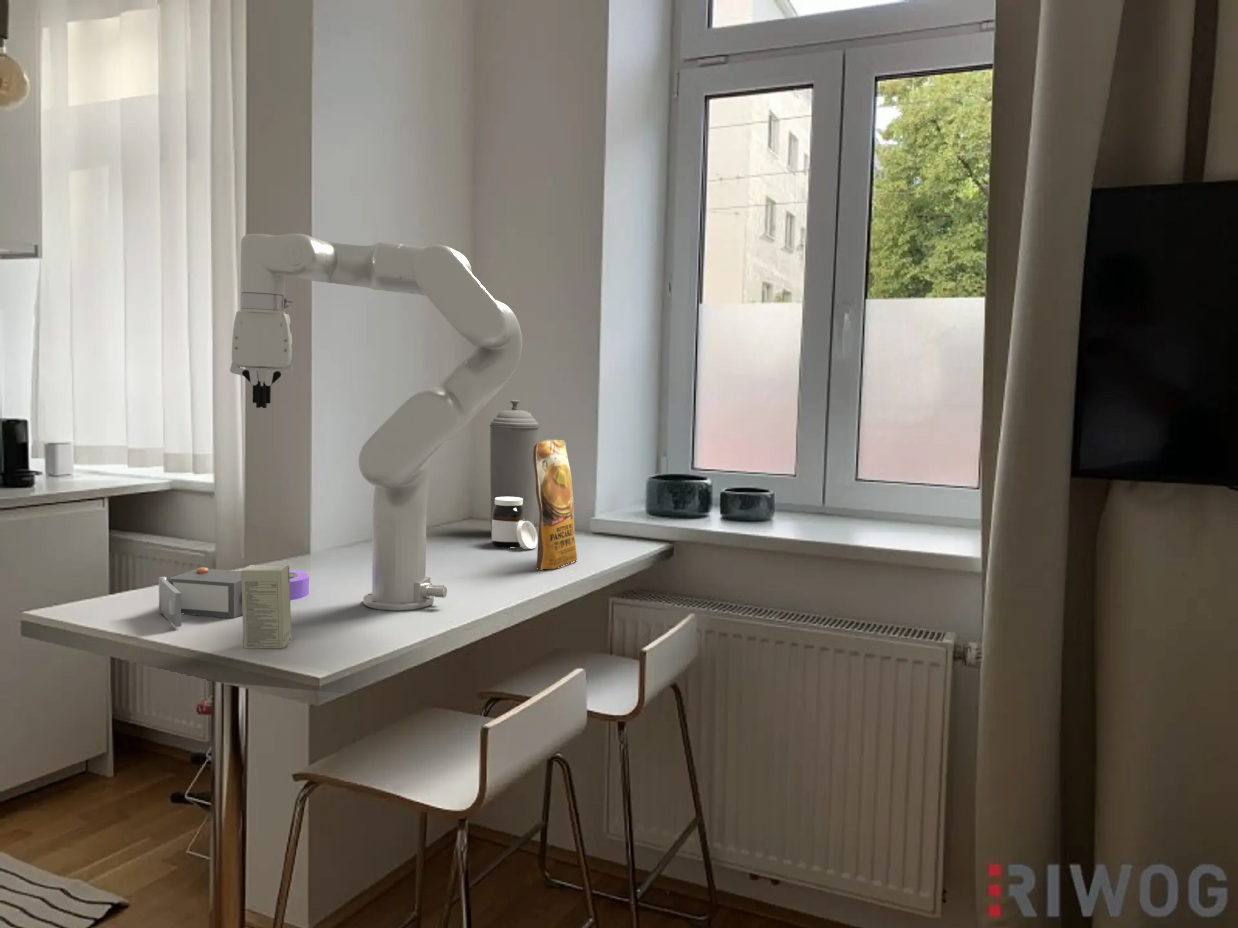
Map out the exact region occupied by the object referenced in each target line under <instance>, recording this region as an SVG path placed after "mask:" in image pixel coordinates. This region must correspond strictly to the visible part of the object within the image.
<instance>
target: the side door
mask: <svg viewBox="0 0 1238 928" xmlns="http://www.w3.org/2000/svg"><path fill="white" fill-rule="evenodd" d="M167 579H168V578H167V576H159V577H158V614H159V613H160V614H159V615H163V616H164V617H165V618H166V619H167V620H168V621H169V622H170V623H171V624H172V625H173V626H174V627H175V628H180V627H182V614H181V593H180V592H179V591H178V590H177V589H176V588H175V587H174V586H173V585H171V584H170V583H169V580H167Z"/></svg>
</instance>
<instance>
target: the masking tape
mask: <svg viewBox="0 0 1238 928" xmlns="http://www.w3.org/2000/svg"><path fill="white" fill-rule="evenodd" d="M289 573H290V601H293V600H299V599H302V598H305V597H307V596H308V595H310V574H309V573H308V572H305V571H303V570H295V569H289Z"/></svg>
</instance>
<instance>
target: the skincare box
mask: <svg viewBox="0 0 1238 928" xmlns="http://www.w3.org/2000/svg"><path fill="white" fill-rule="evenodd" d="M289 570H290V565H289V564H250V565H248V566H246V567H244V568H242V569H240V571H241V582H242V613H243V614H242V636H243V637H242V638H243V639H242V641H243V642H242V643H243V649H284V648H285V647H286V646H287V645H289V643H291V642H292V617H291V616H292V614H291V600H290V573H289Z"/></svg>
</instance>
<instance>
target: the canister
mask: <svg viewBox="0 0 1238 928" xmlns="http://www.w3.org/2000/svg"><path fill="white" fill-rule="evenodd" d="M520 402H521V401H520V400H519V399H518V400H517V399H511V400H509V403H511V404H512V407H511V409H506V410H505V409H504V410H501V411H500V412H499V413H497V415H496V417H494V418H493V420H492V421H491V422H490V424H489V427H490V429H489V430H490V437H489V439H490V441H489V442H490V447H489V449H490V453H489V454H490V459H489V461H490V467H489V468H490V470H489V472H490V481H489V482H490V533H491V534H492V512H493V509H494V507H495V498H497V497H519V498H522V499H523V504H522V507H523V509H524V521H529V522H531V523H532V524H533V525H534V523H535V521H534V520H535V507H536V506H535V503H536V478H535V469H534V462H533V451H534V446H535V445H536V443H537V442H539V430H540V429H539V428H540V425H539V422H538V421H537V420H536V419H535V418H534V417H533V414H531V412H529V411H527V410H521V409H520V410H519V408H518V404H519V403H520Z"/></svg>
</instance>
